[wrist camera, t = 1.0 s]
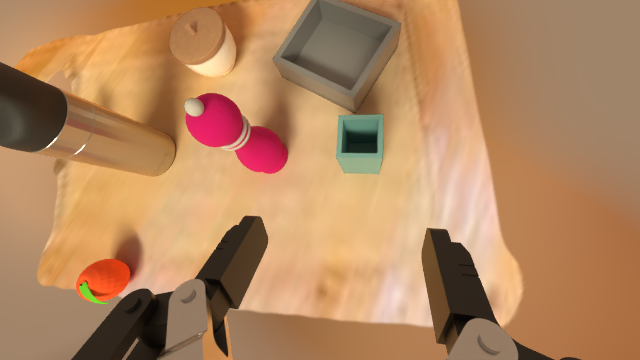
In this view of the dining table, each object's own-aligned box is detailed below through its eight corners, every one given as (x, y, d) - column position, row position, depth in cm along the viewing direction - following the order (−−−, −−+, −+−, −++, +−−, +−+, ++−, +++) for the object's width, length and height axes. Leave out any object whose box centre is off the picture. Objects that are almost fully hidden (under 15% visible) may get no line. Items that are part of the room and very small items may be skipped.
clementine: (148, 282, 43) (106, 294, 36) (122, 307, 43) (76, 324, 36) (129, 248, 45) (85, 253, 38) (104, 272, 45) (57, 282, 38)
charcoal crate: (282, 77, 44) (272, 59, 39) (322, 16, 44) (316, -8, 40) (355, 113, 40) (353, 99, 35) (397, 46, 40) (401, 23, 35)
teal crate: (344, 173, 39) (336, 157, 29) (346, 140, 39) (338, 115, 30) (378, 174, 37) (382, 158, 28) (379, 140, 38) (383, 114, 29)
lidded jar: (254, 47, 47) (227, 5, 37) (230, 93, 46) (195, 63, 37) (214, 33, 49) (180, -8, 40) (190, 77, 49) (150, 44, 40)
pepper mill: (266, 131, 43) (181, 59, 24) (297, 148, 41) (234, 85, 22) (245, 164, 43) (143, 119, 23) (277, 183, 41) (194, 151, 21)
